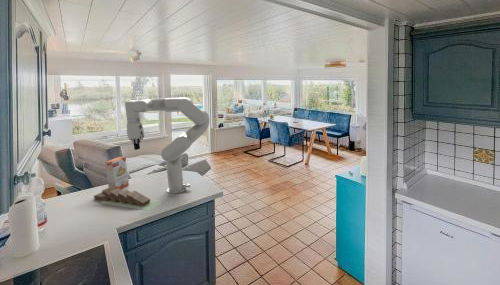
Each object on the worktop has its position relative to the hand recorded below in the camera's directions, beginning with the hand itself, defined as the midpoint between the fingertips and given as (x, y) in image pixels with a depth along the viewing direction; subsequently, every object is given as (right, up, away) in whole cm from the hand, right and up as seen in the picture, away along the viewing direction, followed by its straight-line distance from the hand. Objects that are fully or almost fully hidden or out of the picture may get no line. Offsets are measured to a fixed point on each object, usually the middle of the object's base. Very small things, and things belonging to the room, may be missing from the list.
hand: (137, 149), depth 177 cm
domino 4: (+5, -31, -13) cm, 34 cm away
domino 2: (-7, -30, -8) cm, 32 cm away
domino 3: (-1, -30, -11) cm, 32 cm away
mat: (+1, -32, -11) cm, 34 cm away
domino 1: (-13, -30, -6) cm, 33 cm away
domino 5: (+12, -31, -16) cm, 37 cm away
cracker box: (-18, -28, +15) cm, 36 cm away
